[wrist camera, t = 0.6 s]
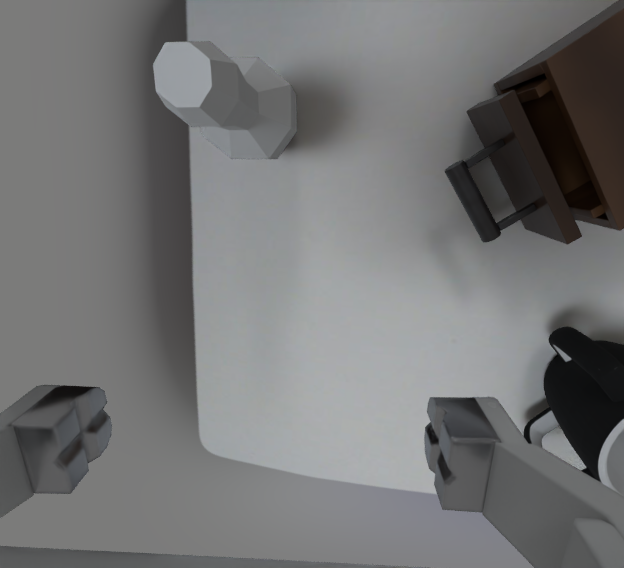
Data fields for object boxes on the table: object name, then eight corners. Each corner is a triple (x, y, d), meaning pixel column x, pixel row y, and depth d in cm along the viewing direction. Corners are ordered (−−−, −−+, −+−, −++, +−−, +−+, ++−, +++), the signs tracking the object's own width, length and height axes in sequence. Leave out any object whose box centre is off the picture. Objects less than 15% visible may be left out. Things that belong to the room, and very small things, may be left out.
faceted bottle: (229, 147, 36) (88, 131, 15) (248, 76, 34) (114, -55, 13) (292, 170, 36) (240, 186, 15) (314, 101, 34) (288, 12, 13)
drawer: (478, 256, 37) (509, 276, 31) (417, 143, 34) (437, 140, 28) (683, 139, 33) (769, 134, 27) (633, 0, 30) (716, -43, 24)
